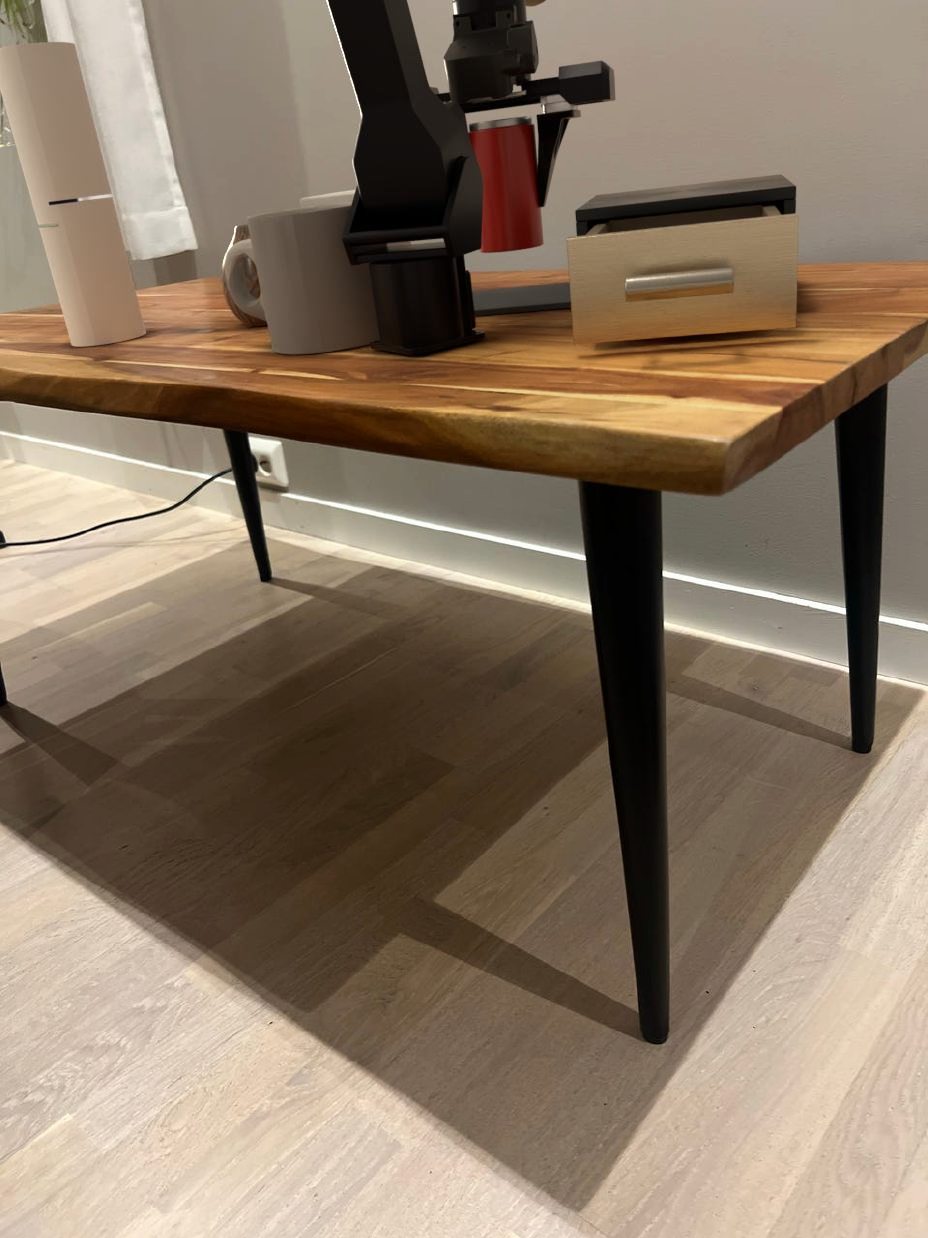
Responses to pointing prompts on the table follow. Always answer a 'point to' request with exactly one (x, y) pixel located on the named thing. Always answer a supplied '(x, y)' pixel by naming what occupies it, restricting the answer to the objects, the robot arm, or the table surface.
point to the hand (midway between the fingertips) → (507, 210)
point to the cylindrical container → (70, 191)
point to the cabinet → (688, 199)
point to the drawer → (684, 274)
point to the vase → (250, 280)
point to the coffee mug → (304, 281)
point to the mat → (522, 299)
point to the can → (508, 184)
